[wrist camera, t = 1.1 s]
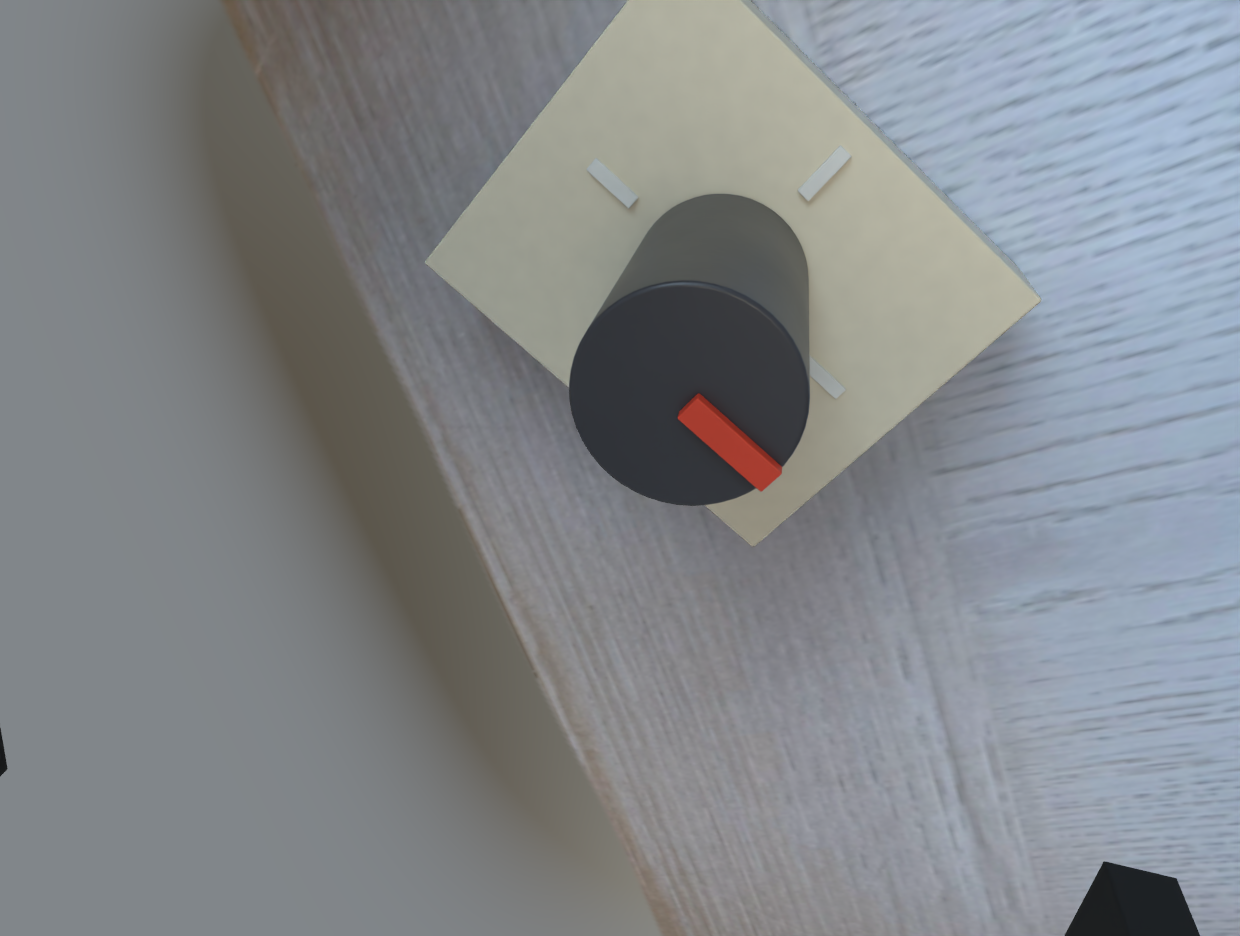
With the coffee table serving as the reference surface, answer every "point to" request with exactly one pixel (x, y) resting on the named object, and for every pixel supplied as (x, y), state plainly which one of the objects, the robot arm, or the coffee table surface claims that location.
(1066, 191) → the coffee table surface
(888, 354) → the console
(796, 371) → the dial
